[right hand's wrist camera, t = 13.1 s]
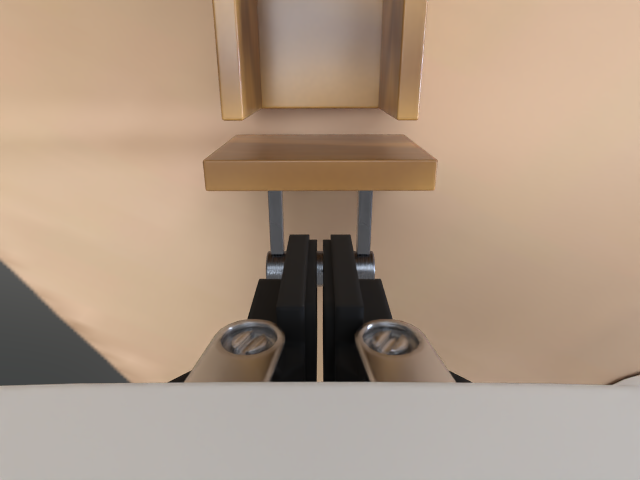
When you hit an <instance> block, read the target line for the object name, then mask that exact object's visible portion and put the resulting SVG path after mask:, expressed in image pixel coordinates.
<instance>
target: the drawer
mask: <svg viewBox="0 0 640 480" xmlns="http://www.w3.org/2000/svg"><path fill="white" fill-rule="evenodd" d="M427 2H428V0H212V3H213V15H214V27H215V39H216V52H217V64H218V76H219V88H220V101H221V113H222V119H223V120H224V121H229V120H244V119H245V118H247V117H248V116H250V115H252V114H253V113H255V112H256V111H258V110H260V109H276V108H379V109H381V110H383V111H384V112H386V113H387V114H389V115H390V116H392V117H394V118H395V119H397V120H418V117H419V104H420V92H421V79H422V66H423V53H424V40H425V28H426V15H427ZM437 162H438V161H437V159H435V158H434V157H433V156H431V155H430V154H429V153H427V152H426V151H425V150H423V149H422V148H421V147H419V146H418V145H417V144H415V143H414V142H413V141H411V140H410V139H409V138H408V137H406V136H405V135H236V136H235V137H233V138H232V139H231V140H229V141H228V142H227V143H226V144H224V145H223V146H222V147H220V148H219V149H218V150H216V151H215V152H214V153H212V154H211V155H210V156H208V157H207V158H206V159H204V160H203V168H204V178H205V188H206V190H207V191H268V203H269V225H270V246H271V251H269V252H268V253H267V258H266V279H281V278H282V273H283V268H284V262H285V257H286V251H284V250H285V247H284V218H283V191H358V207H357V240H356V251H354V257H355V262H356V268H357V273H358V278H359V279H375V260H374V254H373V251H370V241H371V218H372V195H373V191H433V190H434V189H435V183H436V172H437ZM317 286H323V251H317Z"/></svg>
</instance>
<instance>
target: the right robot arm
mask: <svg viewBox="0 0 640 480" xmlns="http://www.w3.org/2000/svg"><path fill="white" fill-rule="evenodd" d="M0 480H640V375H637V376H634V377H630V378H627V379H624V380H622V381H620V382H617V383H615V384H613V385H588V384H551V383H472V382H470V381H468V380H466V379H464V378H462V377H460V376H458V375H456V374H454V373H452V372H450V371H449V370H448V369H447V368H446V366H445V365H444V363H443V362H442V360H441V359H440V357H439V356H438V354H437V353H436V351H435V350H434V348H433V347H432V345H431V344H430V342H429V341H428V339H427V338H426V336H425V335H424V334H423V333H422V332H421V331H420V329H418V328H416V327H415V326H413V325H411V324H409V323H406V322H403V321H399V320H393V319H392V316H391V312H390V309H389V305H388V302H387V298H386V295H385V292H384V288H383V285H382V281H381V279H359V278H358V273H357V268H356V262H355V257H354V251H353V246H352V241H351V236H350V235H331V240H323V382H317V240H309V235H290V236H289V241H288V246H287V251H286V257H285V262H284V268H283V273H282V278H281V279H259V281H258V285H257V288H256V292H255V295H254V298H253V302H252V305H251V309H250V312H249V316H248V319H247V320H241V321H237V322H234V323H231V324H229V325H227V326H225V327H224V328H222V329H220V331H219V332H218V333H217V334H216V335H215V336H214V338H213V339H212V341H211V342H210V344H209V345H208V347H207V348H206V350H205V351H204V353H203V354H202V356H201V357H200V359H199V360H198V362H197V363H196V365H195V366H194V368H193V369H192V370H191V371H190V372H188V373H186V374H184V375H182V376H180V377H178V378H176V379H174V380H172V381H170V382H168V383H101V384H50V385H17V386H0Z"/></svg>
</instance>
